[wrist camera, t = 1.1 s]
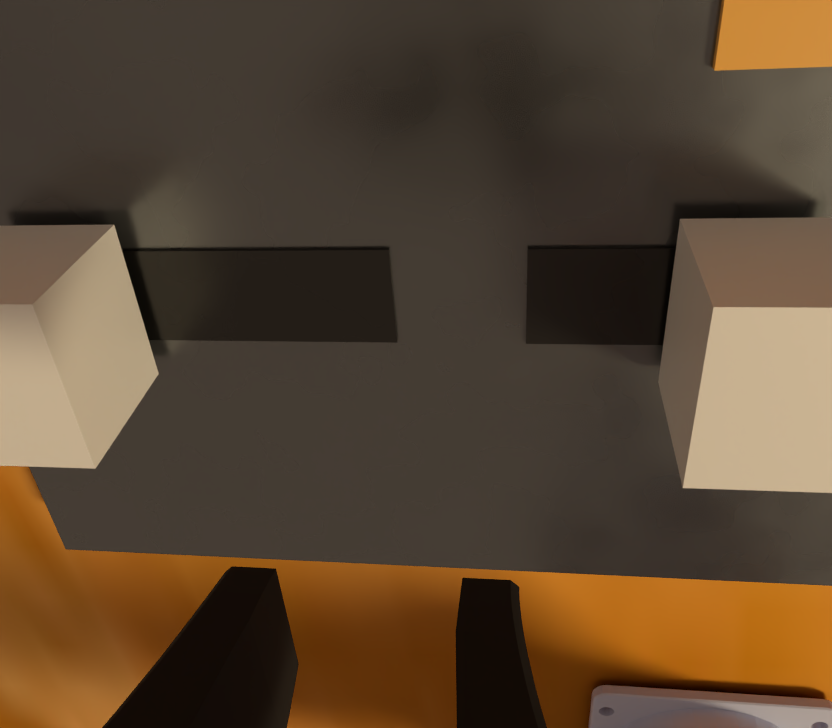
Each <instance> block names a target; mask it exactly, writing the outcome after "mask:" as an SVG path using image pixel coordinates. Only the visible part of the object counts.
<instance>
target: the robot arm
mask: <svg viewBox="0 0 832 728" xmlns="http://www.w3.org/2000/svg"><path fill="white" fill-rule="evenodd" d="M297 670H298V660H297V656H296V651H295V647H294V643H293V639H292V635H291V630H290V626H289V622H288V618H287V614H286V609H285V605H284V601H283V597H282V593H281V588H280V584H279V580H278V576H277V572H276V569H271V568H251V567H231V568H230V569H228V570H227V571H226V572H225V573H224V575H223V576H222V577H221V579H220V580H219V581H218V583H217V584H216V585H215V587H214V588H213V589H212V591H211V592H210V593H209V595H208V596H207V597H206V599H205V600H204V601H203V603H202V604H201V605H200V607H199V608H198V609H197V611H196V612H195V613H194V615H193V616H192V617H191V619H190V620H189V621H188V623H187V624H186V625H185V626H184V628H183V629H182V630H181V632H180V633H179V634H178V636H177V637H176V638H175V639H174V641H173V642H172V643H171V644H170V646H169V647H168V648H167V650H166V651H165V652H164V653H163V655H162V656H161V657H160V659H159V660H158V661H157V662H156V664H155V665H154V666H153V667H152V668H151V670H150V671H149V672H148V673H147V674H146V676H145V677H144V678H143V679H142V681H141V682H140V683H139V684H138V685H137V687H136V688H135V689H134V690H133V692H132V693H131V694H130V695H129V696H128V698H127V699H126V700H125V701H124V702H123V704H122V705H121V706H120V707H119V709H118V710H117V711H116V712H115V713H114V715H113V716H112V717H111V718H110V719H109V720H108V722H107V723H106V724H105V725H104V726H103V727H102V728H287V723H288V718H289V713H290V708H291V703H292V697H293V692H294V686H295V681H296V675H297ZM456 691H457V728H547V727H546V723H545V720H544V717H543V713H542V710H541V707H540V703H539V699H538V695H537V692H536V688H535V684H534V680H533V675H532V671H531V667H530V662H529V658H528V654H527V649H526V643H525V638H524V632H523V626H522V619H521V610H520V600H519V587H518V586H517V585H516V584H515V583H513V582H512V581H511V580H495V579H475V578H463V579H462V586H461V594H460V601H459V609H458V618H457V626H456ZM588 728H832V702H831V701H829V700H825V699H816V698H800V697H785V696H770V695H755V694H739V693H724V692H709V691H693V690H678V689H663V688H647V687H632V686H617V685H601V686H598V687H596V688H595V689H594V690H593V692H592V697H591V707H590V716H589V726H588Z"/></svg>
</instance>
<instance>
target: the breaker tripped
mask: <svg viewBox="0 0 832 728" xmlns="http://www.w3.org/2000/svg"><path fill="white" fill-rule="evenodd" d="M658 383H659V387H660V392H661V396H662V400H663V405H664V409H665V413H666V418H667V422H668V426H669V431H670V435H671V439H672V444H673V448H674V452H675V457H676V461H677V465H678V470H679V474H680V478H681V483H682V487H683V488H697V489H727V490H757V491H787V492H818V493H832V217H808V218H710V219H680V222H679V230H678V237H677V245H676V252H675V260H674V267H673V275H672V282H671V290H670V297H669V305H668V312H667V320H666V327H665V335H664V342H663V350H662V357H661V365H660V372H659V380H658Z"/></svg>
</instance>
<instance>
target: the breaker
mask: <svg viewBox="0 0 832 728" xmlns="http://www.w3.org/2000/svg"><path fill="white" fill-rule="evenodd" d="M158 374H159V373H158V370H157V366H156V363H155V360H154V356H153V353H152V350H151V346H150V343H149V340H148V336H147V333H146V330H145V326H144V323H143V320H142V316H141V313H140V310H139V306H138V303H137V299H136V296H135V293H134V289H133V286H132V283H131V279H130V276H129V273H128V269H127V266H126V263H125V259H124V256H123V253H122V249H121V246H120V243H119V239H118V236H117V233H116V229H115V226H114V225H22V226H0V466H30V467H60V468H91V469H96V467H97V466H98V464H99V463H100V461H101V460H102V458H103V457H104V455H105V454H106V452H107V451H108V449H109V448H110V446H111V445H112V443H113V442H114V440H115V439H116V437H117V436H118V434H119V433H120V431H121V430H122V428H123V427H124V425H125V424H126V422H127V421H128V419H129V418H130V416H131V415H132V413H133V412H134V410H135V409H136V407H137V406H138V404H139V403H140V401H141V400H142V398H143V397H144V395H145V394H146V392H147V391H148V389H149V388H150V386H151V385H152V383H153V382H154V380H155V379H156V377H157V376H158Z"/></svg>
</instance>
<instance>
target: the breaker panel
mask: <svg viewBox="0 0 832 728" xmlns="http://www.w3.org/2000/svg"><path fill="white" fill-rule="evenodd" d="M808 217H832V0H0V226H22V225H114V226H115V229H116V233H117V236H118V239H119V243H120V246H121V249H122V253H123V256H124V259H125V263H126V266H127V269H128V273H129V276H130V279H131V283H132V286H133V289H134V293H135V296H136V299H137V303H138V306H139V310H140V313H141V316H142V320H143V323H144V326H145V330H146V333H147V336H148V340H149V343H150V346H151V350H152V353H153V356H154V360H155V363H156V366H157V370H158V373H159V374H158V376H157V377H156V379H155V380H154V382H153V383H152V385H151V386H150V388H149V389H148V391H147V392H146V394H145V395H144V397H143V398H142V400H141V401H140V403H139V404H138V406H137V407H136V409H135V410H134V412H133V413H132V415H131V416H130V418H129V419H128V421H127V422H126V424H125V425H124V427H123V428H122V430H121V431H120V433H119V434H118V436H117V437H116V439H115V440H114V442H113V443H112V445H111V446H110V448H109V449H108V451H107V452H106V454H105V455H104V457H103V458H102V460H101V461H100V463H99V464H98V466H97V467H96V469H91V468H60V467H30V466H29V468H30V470H31V472H32V475H33V477H34V479H35V481H36V483H37V486H38V488H39V490H40V492H41V495H42V497H43V499H44V501H45V504H46V506H47V508H48V510H49V513H50V515H51V517H52V519H53V522H54V524H55V526H56V528H57V531H58V533H59V535H60V537H61V539H62V542H63V544H64V546H65V548H66V549H71V550H92V551H113V552H134V553H155V554H177V555H198V556H219V557H240V558H261V559H282V560H303V561H324V562H345V563H366V564H387V565H408V566H429V567H450V568H471V569H492V570H513V571H534V572H555V573H576V574H597V575H618V576H639V577H661V578H682V579H703V580H724V581H745V582H766V583H787V584H808V585H829V586H832V493H818V492H787V491H757V490H727V489H697V488H683V487H682V483H681V478H680V474H679V470H678V465H677V461H676V457H675V452H674V448H673V444H672V439H671V435H670V431H669V426H668V422H667V418H666V413H665V409H664V405H663V400H662V396H661V392H660V387H659V383H658V380H659V372H660V365H661V357H662V350H663V342H664V335H665V327H666V320H667V312H668V305H669V297H670V290H671V282H672V275H673V267H674V260H675V252H676V245H677V237H678V230H679V222H680V219H710V218H808Z"/></svg>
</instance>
